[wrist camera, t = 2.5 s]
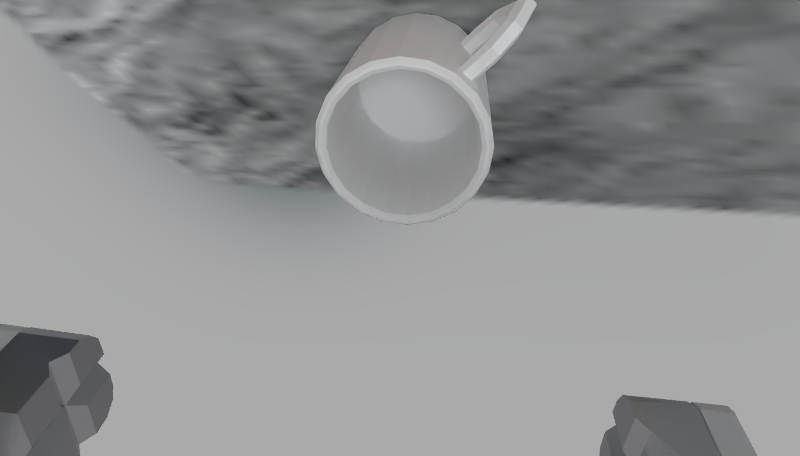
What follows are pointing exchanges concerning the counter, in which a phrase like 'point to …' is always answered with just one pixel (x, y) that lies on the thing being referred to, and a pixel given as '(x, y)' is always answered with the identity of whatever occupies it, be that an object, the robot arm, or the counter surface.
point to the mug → (415, 115)
